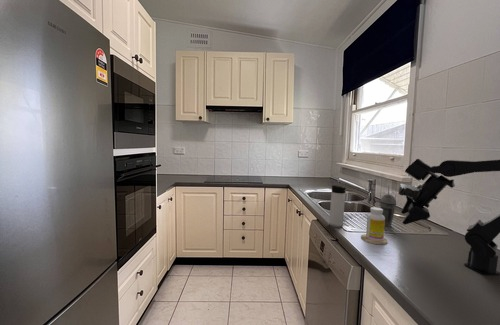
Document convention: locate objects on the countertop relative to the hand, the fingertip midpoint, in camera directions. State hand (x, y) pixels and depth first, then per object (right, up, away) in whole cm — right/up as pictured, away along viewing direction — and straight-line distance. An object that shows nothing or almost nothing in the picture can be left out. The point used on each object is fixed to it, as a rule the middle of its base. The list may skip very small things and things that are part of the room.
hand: (402, 218), depth 98 cm
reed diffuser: (+7, -9, +25) cm, 28 cm away
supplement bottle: (-9, -10, +5) cm, 14 cm away
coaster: (-9, -10, +6) cm, 15 cm away
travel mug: (-19, -9, +21) cm, 30 cm away
